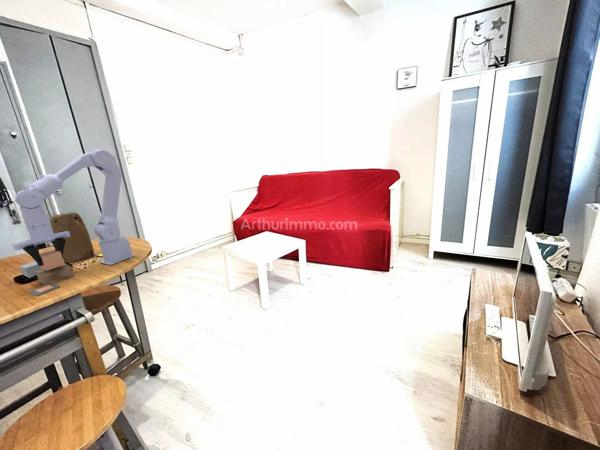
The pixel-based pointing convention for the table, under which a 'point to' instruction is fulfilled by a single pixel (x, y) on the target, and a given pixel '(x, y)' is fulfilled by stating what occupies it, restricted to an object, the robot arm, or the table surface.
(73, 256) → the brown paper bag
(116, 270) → the table surface
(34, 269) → the grey cube
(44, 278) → the walnut base
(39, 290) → the card
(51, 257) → the terracotta cube
